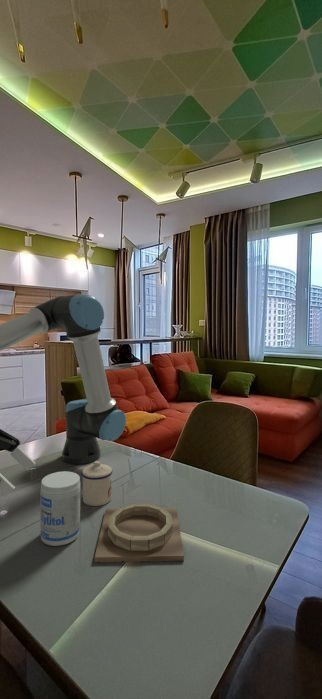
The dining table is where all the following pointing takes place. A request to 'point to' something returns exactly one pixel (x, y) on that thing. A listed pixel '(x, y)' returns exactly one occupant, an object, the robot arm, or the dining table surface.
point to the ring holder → (140, 534)
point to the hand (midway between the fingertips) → (22, 478)
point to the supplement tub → (60, 508)
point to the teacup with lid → (97, 484)
